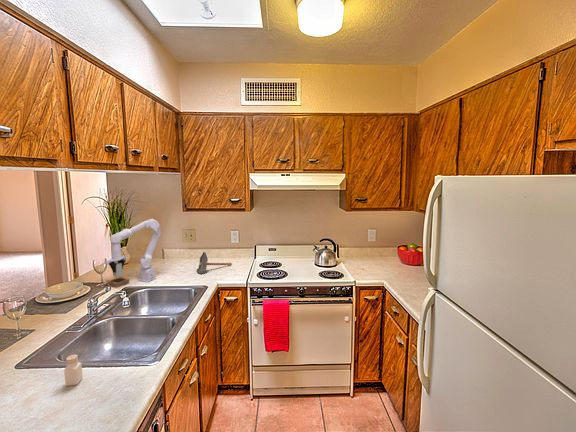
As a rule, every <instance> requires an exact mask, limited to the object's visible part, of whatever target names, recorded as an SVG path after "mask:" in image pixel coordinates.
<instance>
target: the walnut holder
mask: <svg viewBox="0 0 576 432" xmlns="http://www.w3.org/2000/svg"><path fill="white" fill-rule="evenodd" d="M106 284H107V287H111V288H117V289H118V288H120V287H123V286H125V285H128V284H130V279H129V278H125V277H120V276H119V277H117V278H113V279H111V280H107V282H106Z"/></svg>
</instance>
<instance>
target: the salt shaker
mask: <svg viewBox="0 0 576 432" xmlns="http://www.w3.org/2000/svg"><path fill="white" fill-rule="evenodd" d="M78 356H79V355H78V354H71V355H68V356H67V357H66V358H65V360H66V361H65V362H66V366H65V368H64V370H63V372H64V381H65V382H64V383H65V386H66V387H68V386H77V385H78V384H80V382H81V381H82V379H83V368H82V367H83V366H82V362H80V361H79V357H78Z"/></svg>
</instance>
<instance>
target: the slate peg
mask: <svg viewBox="0 0 576 432" xmlns="http://www.w3.org/2000/svg"><path fill="white" fill-rule="evenodd" d="M116 263H117V264H116V273H113V272H112V276H114V277H120V276H123V269H122V263H118V262H116Z"/></svg>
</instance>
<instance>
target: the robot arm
mask: <svg viewBox="0 0 576 432" xmlns="http://www.w3.org/2000/svg"><path fill="white" fill-rule="evenodd" d="M142 229H150V230H151V231H152V235H151V238H150V239H149V242H148V246H147V247H146V250H145V253H144V254H143V256H142V257H141V258H140V259H139V264H140V265H141V266H140V267H139V270H140V271H139V272H140V278H139V279H137V281H138V282H139V281H140V282H145V283H149V282H151V281H154V280H157V277H156V270H155V269H154V268H153V267H152V261H153V260H152V259H153V254H154V251H155V250H156V247H157V244H158V242H159V240H160V236H161V234H162V229H161V225H160V223H159V221H157V220H156V219H154V218H149V219H147V220H144V221H142V222H140V223H138V224H136V225H135V226H133V227H131V228H122V230H121V231H119V232H115V234H112V235H110V236H109V241H110V254H111V258H110V259H107V260H104V262H105V264H106V265H109V267H110V268H111V271H112V274H113V273H116V264H117V263H122V270H123V268H124V265H125V262H126V260H128V256H127V255H124V256H122V247H121V241H123V240H125V239H127V238H129V237H132V235H133V234H134V233H136V232H137V231H140V230H142Z"/></svg>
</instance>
